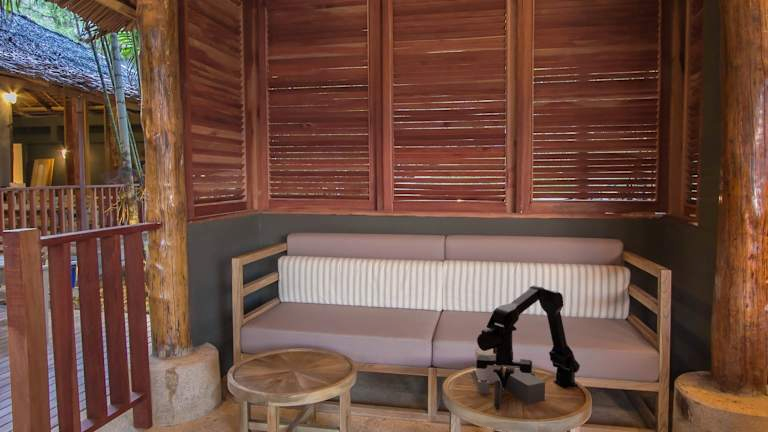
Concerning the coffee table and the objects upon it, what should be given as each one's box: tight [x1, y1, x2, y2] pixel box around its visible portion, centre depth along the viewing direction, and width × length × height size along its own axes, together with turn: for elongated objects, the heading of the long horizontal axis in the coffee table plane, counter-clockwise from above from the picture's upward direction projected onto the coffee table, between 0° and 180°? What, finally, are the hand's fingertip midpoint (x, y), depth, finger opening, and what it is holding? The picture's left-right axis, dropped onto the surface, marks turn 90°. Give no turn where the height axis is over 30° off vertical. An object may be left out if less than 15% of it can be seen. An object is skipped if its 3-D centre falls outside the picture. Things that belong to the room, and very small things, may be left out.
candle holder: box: [474, 346, 499, 385], centre depth 207 cm, size 10×10×12 cm
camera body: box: [503, 368, 546, 405], centre depth 193 cm, size 9×14×7 cm, turn 24°
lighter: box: [469, 369, 490, 395], centre depth 196 cm, size 7×2×8 cm, turn 69°
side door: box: [493, 378, 504, 409], centre depth 190 cm, size 2×17×10 cm, turn 161°
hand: (504, 387), depth 182 cm, fingers closed
